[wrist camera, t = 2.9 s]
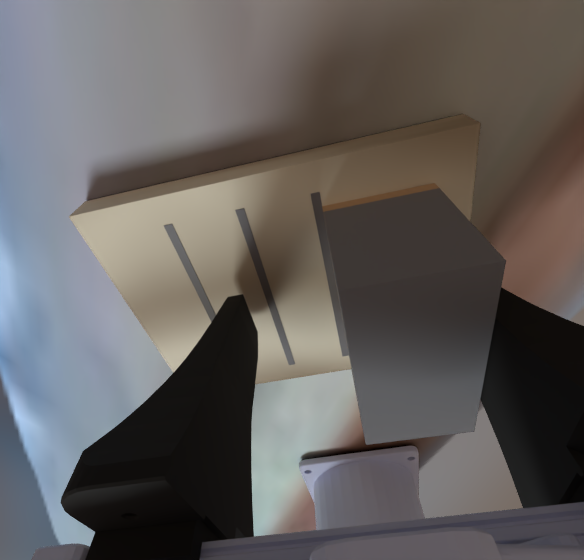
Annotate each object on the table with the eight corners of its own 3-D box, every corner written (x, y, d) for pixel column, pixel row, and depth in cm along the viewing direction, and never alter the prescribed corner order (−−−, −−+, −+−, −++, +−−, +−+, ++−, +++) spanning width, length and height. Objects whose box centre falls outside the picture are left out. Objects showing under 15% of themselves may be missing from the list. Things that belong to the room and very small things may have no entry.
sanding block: (430, 335, 15) (474, 431, 12) (347, 348, 15) (365, 444, 12) (434, 182, 11) (506, 260, 7) (321, 206, 11) (338, 290, 8)
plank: (447, 333, 17) (457, 352, 16) (193, 375, 18) (188, 395, 17) (463, 113, 11) (480, 122, 10) (85, 201, 12) (68, 216, 11)
